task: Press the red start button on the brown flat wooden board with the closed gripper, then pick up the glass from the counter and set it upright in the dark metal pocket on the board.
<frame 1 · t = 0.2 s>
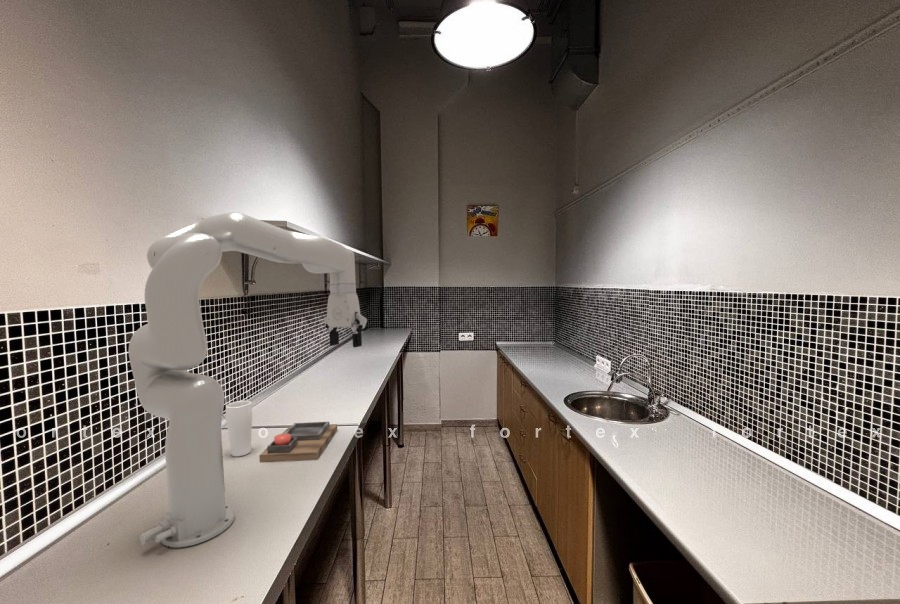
hand: (345, 345, 115), 31 cm above the counter, tool pointing down, fingers open, 9 cm apart
brown flat wooden board: (302, 444, 117), on the counter
drinking glass: (241, 454, 112), on the counter
start button: (282, 440, 110), point 4 cm above the counter, slide at 0.0 cm
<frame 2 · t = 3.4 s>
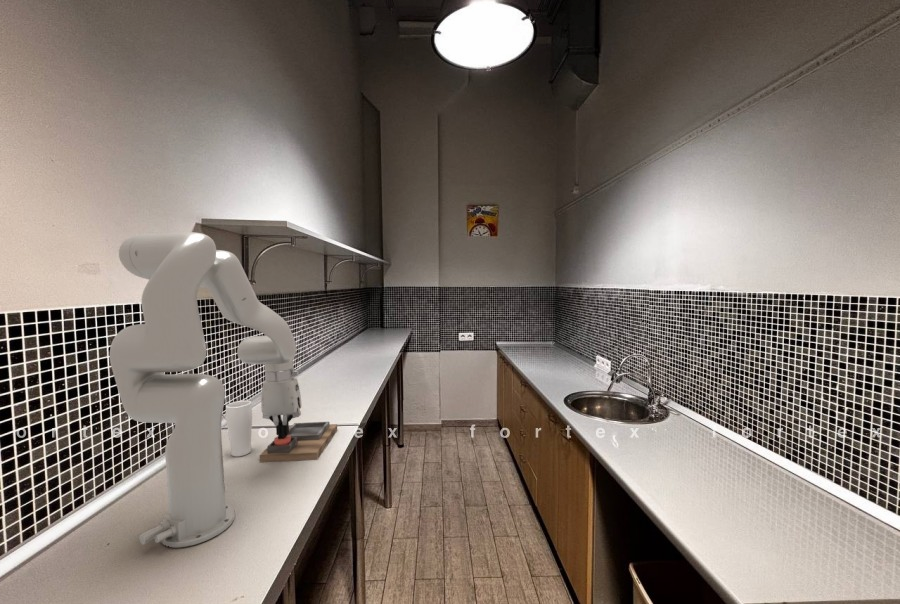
hand: (283, 436, 110), 5 cm above the counter, tool pointing down, fingers closed
start button: (282, 441, 110), point 4 cm above the counter, slide at 0.4 cm
everything else where it was.
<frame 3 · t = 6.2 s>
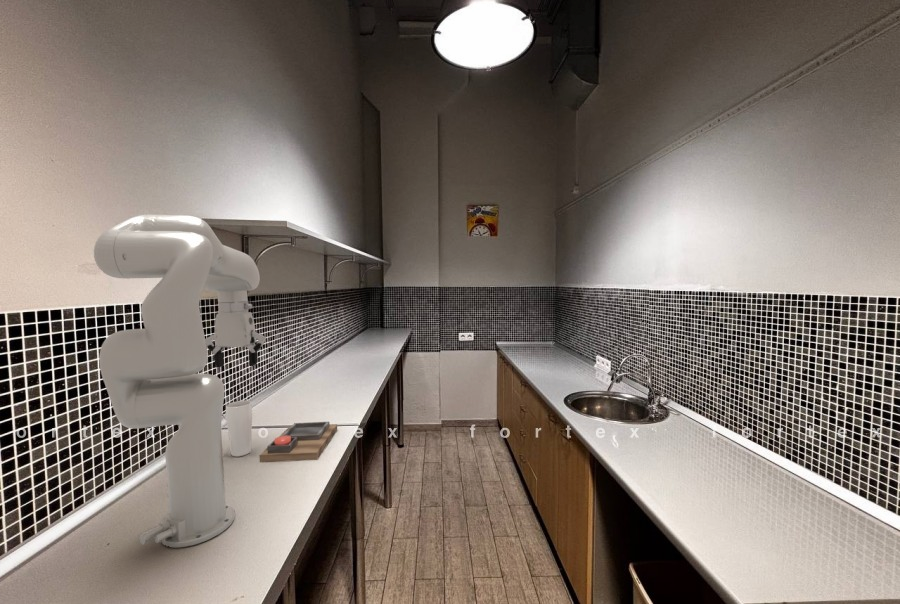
hand: (236, 366, 111), 26 cm above the counter, tool pointing down, fingers open, 9 cm apart
nothing on the counter moved.
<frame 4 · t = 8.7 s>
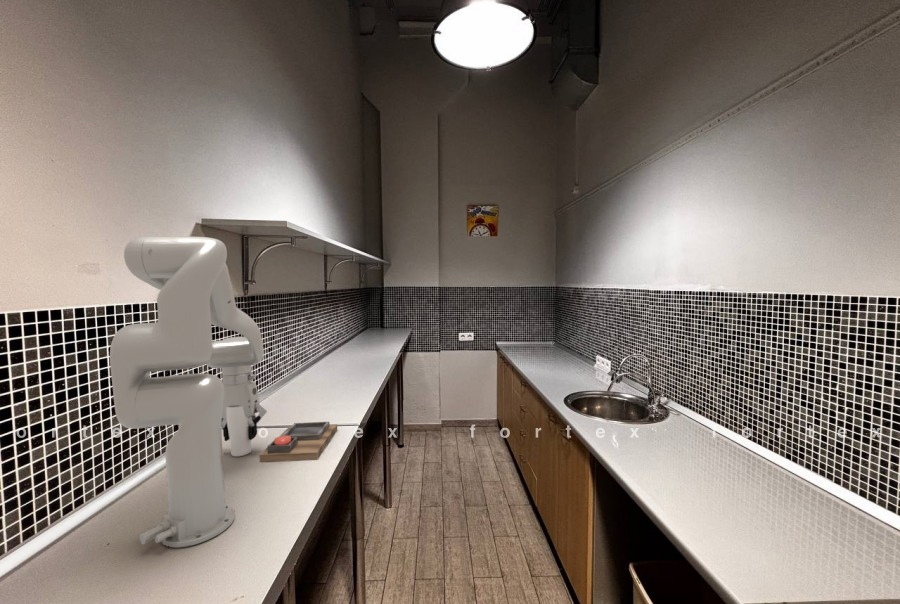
hand: (240, 438, 112), 5 cm above the counter, tool pointing down, fingers closed on drinking glass, 6 cm apart
drinking glass: (241, 454, 112), on the counter, touching gripper
everything else where it was.
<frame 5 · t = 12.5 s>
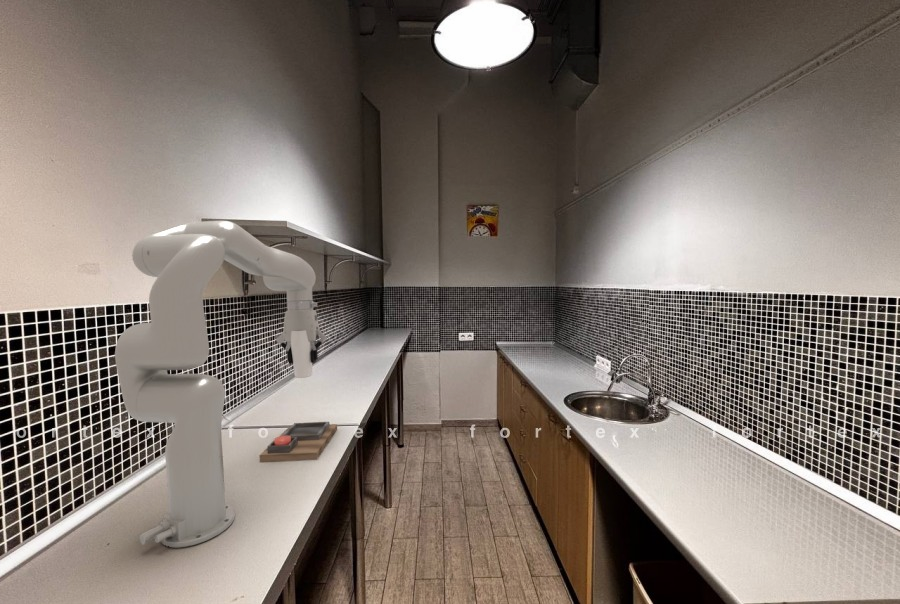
hand: (302, 362, 120), 25 cm above the counter, tool pointing down, fingers closed on drinking glass, 6 cm apart
drinking glass: (303, 377, 120), point 20 cm above the counter, touching gripper
everything else where it was.
when the fingers open (8 cm above the counter, at t = 16.1 s): drinking glass drops 1 cm, resting on brown flat wooden board.
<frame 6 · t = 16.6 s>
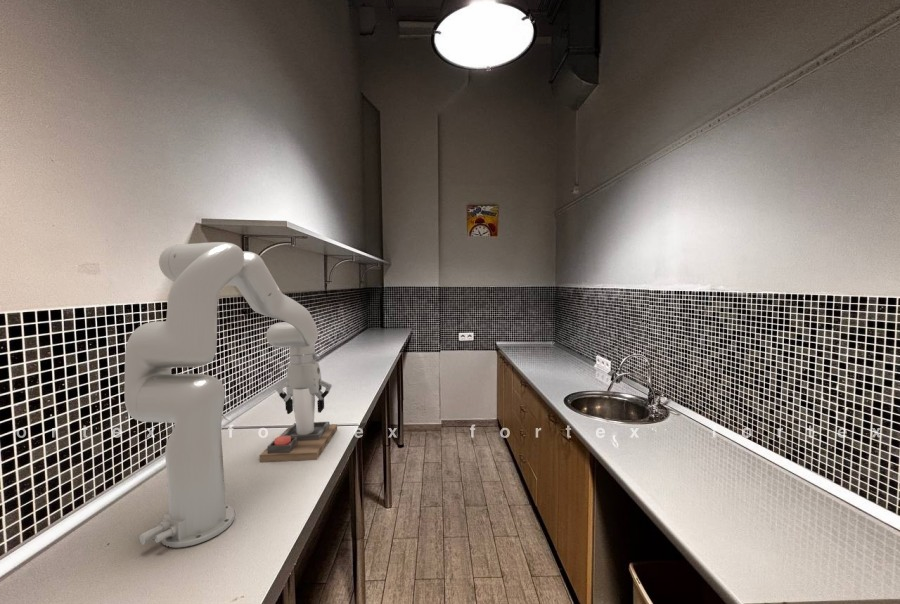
hand: (305, 411, 121), 9 cm above the counter, tool pointing down, fingers open, 9 cm apart
drinking glass: (305, 433, 121), point 2 cm above the counter, touching brown flat wooden board
everything else where it was.
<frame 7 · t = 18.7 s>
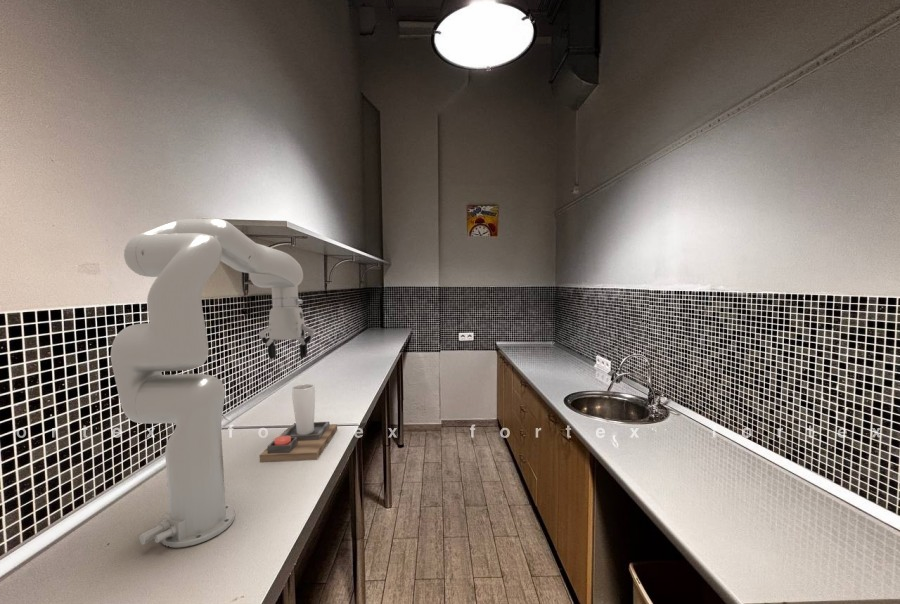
hand: (288, 357, 119), 27 cm above the counter, tool pointing down, fingers open, 9 cm apart
nothing on the counter moved.
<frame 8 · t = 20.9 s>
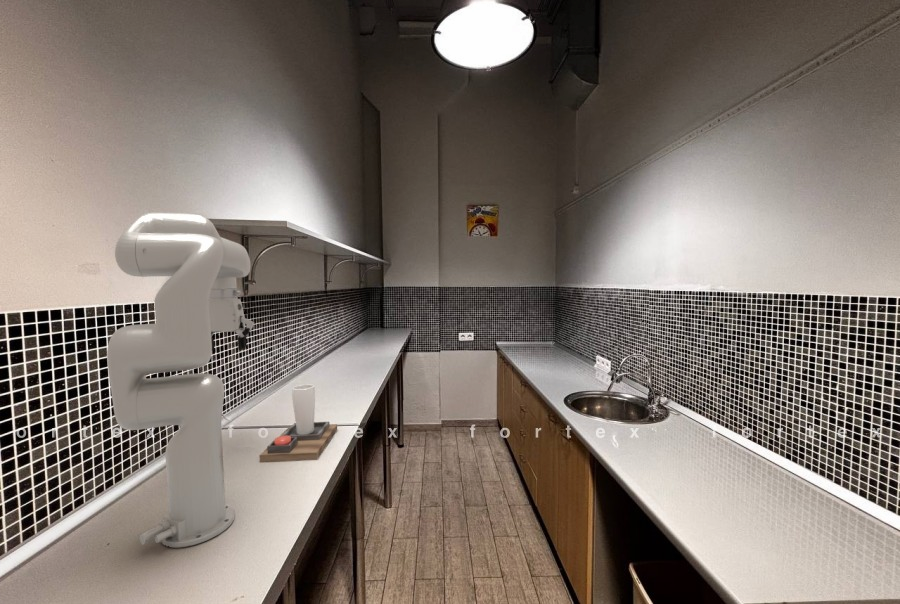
hand: (226, 350, 116), 30 cm above the counter, tool pointing down, fingers open, 9 cm apart
nothing on the counter moved.
at the end: drinking glass 0.3 cm from the target spot on the brown flat wooden board, point 2.0 cm above the brown flat wooden board's base; drinking glass tilted 0°; start button slide at 0.6 cm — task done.
